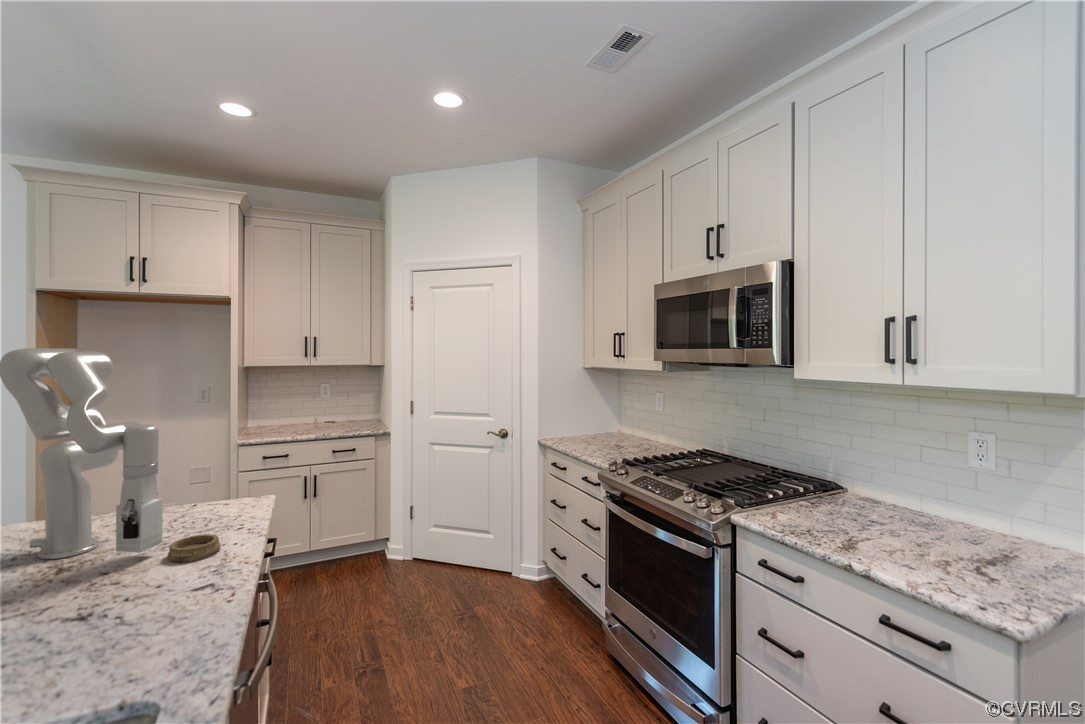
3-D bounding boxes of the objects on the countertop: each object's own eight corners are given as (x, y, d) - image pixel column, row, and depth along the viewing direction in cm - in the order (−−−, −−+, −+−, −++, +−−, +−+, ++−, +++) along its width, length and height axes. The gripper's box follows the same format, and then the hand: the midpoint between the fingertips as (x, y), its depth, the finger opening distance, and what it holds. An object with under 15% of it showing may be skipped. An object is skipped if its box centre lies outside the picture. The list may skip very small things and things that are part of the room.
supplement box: (163, 542, 139) (164, 498, 138) (139, 553, 131) (140, 507, 131) (139, 540, 139) (140, 497, 139) (114, 551, 132) (115, 505, 132)
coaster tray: (159, 565, 131) (159, 552, 131) (179, 548, 142) (179, 536, 142) (211, 560, 134) (211, 547, 134) (226, 543, 146) (226, 532, 146)
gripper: (140, 463, 142) (140, 521, 143) (106, 478, 125) (105, 545, 126) (171, 462, 144) (170, 519, 145) (140, 477, 128) (140, 542, 128)
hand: (140, 531), depth 135 cm, fingers closed on supplement box, 9 cm apart
